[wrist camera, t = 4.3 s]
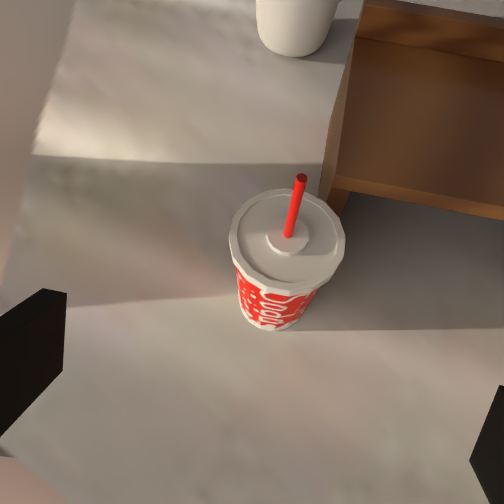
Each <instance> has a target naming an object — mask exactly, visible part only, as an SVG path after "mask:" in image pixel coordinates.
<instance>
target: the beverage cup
mask: <svg viewBox="0 0 504 504" xmlns="http://www.w3.org/2000/svg"><path fill="white" fill-rule="evenodd" d="M306 182H307V176H306V175H305V174H302V173H301V174H298V175H297V177H296V181H295V185H294V189H288V188H281V189H274V190H267V191H263V192H261V193H259V194H257V195H255V196H254V197H252V198H250V199H248V200H246V201H245V202H244V203H243V205H242V206H241V207H240V208H239V210H238V211H237V212H236V214H235V215H234V216H233V219H232V223H231V228H230V232H229V245H230V250H231V254H232V259H233V263H234V264H235V266H236V273H237V284H238V294H239V302H240V306H241V311H242V313H243V314H244V315H245V317H246V318H247V320H248V321H249V322H250V323H252V324H253V325H255V326H256V327H258V328H259V329H263V330H268V331H278V330H283V329H287V328H288V327H290V326H291V325H293V324H294V323H296V322H297V321H298V319H299V317H300V316H301V314H302V313H303V311H304V310H305V308H306V307H307V305H308V304H309V302H310V301H311V299H312V298H313V296H314V294H315V293H316V291H317V290H318V288H319V287H320V286H322V285H323V284H325V283H326V282H328V281H329V280H330V278H331V277H332V275H333V274H334V272H335V271H336V269H337V267H338V266H339V264H340V263H341V261H342V259H343V257H344V249H345V239H346V237H345V234H344V231H343V228H342V225H341V222H340V219H339V217H338V216H337V215H336V214H335V213H334V212H333V211H332V209H331V208H330V207H329V206H328V205H327V204H326V203H325V202H324V201H322V200H320V199H318V198H317V197H315V196H313V195H311V194H309V193H307V192H305V191H304V190H305V186H306Z"/></svg>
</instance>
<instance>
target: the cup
mask: <svg viewBox="0 0 504 504" xmlns="http://www.w3.org/2000/svg"><path fill="white" fill-rule="evenodd" d="M340 1H341V0H256V13H257V28H258V33H259V36H260V38H261V40H262V42H263V43H264V44H265V46H266V47H267V48H269V49H270V50H271V51H273V52H275V53H277V54H279V55H282V56H287V57H302V56H306V55H309V54H311V53H313V52H315V51H316V50H317V49H318V48H319V47H320V46H321V45H322V44H323V42H324V41H325V39H326V37H327V34H328V32H329V29H330V26H331V23H332V20H333V17H334V14H335V11H336V9H337V6H338V3H339V2H340Z"/></svg>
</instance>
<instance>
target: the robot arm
mask: <svg viewBox="0 0 504 504" xmlns="http://www.w3.org/2000/svg"><path fill="white" fill-rule="evenodd" d="M66 301H67V293H63V292H59V291H54V290H49V289H45V288H42V289H41V290H39V291H38V292H36V293H35V294H33V295H32V296H30V297H29V298H27V299H26V300H24V301H23V302H21V303H20V304H18V305H17V306H15V307H14V308H12V309H11V310H9V311H8V312H6V313H5V314H3V315H2V316H0V437H1V436H2V435H3V434H4V432H5V431H6V430H7V429H8V428H9V427H10V426H11V425H12V424H13V423H14V422H15V421H16V420H17V419H18V418H19V417H20V415H21V414H22V413H23V412H24V411H25V410H26V409H27V408H28V407H29V406H30V405H31V404H32V403H33V402H34V401H35V399H36V398H37V397H38V396H39V395H40V394H41V393H42V392H43V391H44V390H45V389H46V388H47V387H48V386H49V385H50V384H51V382H52V381H53V380H54V379H55V378H56V377H57V376H58V375H59V374H60V373H61V372H62V371H63V353H64V336H65V318H66ZM469 462H470V464H471V466H472V468H473V470H474V472H475V474H476V476H477V478H478V480H479V482H480V484H481V486H482V488H483V491H484V493H485V495H486V497H487V499H488V501H489V503H490V504H504V386H502V385H499V387H498V390H497V392H496V395H495V397H494V400H493V402H492V405H491V407H490V410H489V412H488V415H487V417H486V420H485V422H484V425H483V427H482V430H481V432H480V435H479V437H478V440H477V442H476V445H475V447H474V450H473V452H472V455H471V457H470V459H469Z"/></svg>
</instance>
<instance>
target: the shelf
mask: <svg viewBox="0 0 504 504" xmlns="http://www.w3.org/2000/svg"><path fill="white" fill-rule="evenodd" d="M351 191H353V192H358V193H364V194H369V195H374V196H379V197H384V198H390V199H395V200H400V201H405V202H410V203H415V204H421V205H426V206H431V207H436V208H441V209H447V210H452V211H457V212H462V213H467V214H473V215H478V216H483V217H488V218H493V219H499V220H504V19H502V18H496V17H490V16H485V15H479V14H473V13H467V12H461V11H456V10H450V9H444V8H438V7H432V6H426V5H421V4H415V3H409V2H403V1H397V0H364V2H363V5H362V9H361V12H360V16H359V19H358V23H357V26H356V30H355V33H354V37H353V40H352V44H351V47H350V51H349V55H348V58H347V62H346V65H345V69H344V72H343V76H342V79H341V83H340V86H339V90H338V93H337V97H336V100H335V104H334V107H333V111H332V115H331V118H330V123H329V129H328V135H327V141H326V148H325V154H324V160H323V167H322V173H321V179H320V185H319V192H318V199H320V200H322V201H324V202H325V203H326V204H327V205H328V206H329V207H330V208H331V209H332V211H333V212H334V213H335V214H336V215H337V216H338V217H339V218H340V215H341V213H342V211H343V208H344V206H345V204H346V201H347V199H348V197H349V194H350V192H351Z"/></svg>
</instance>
